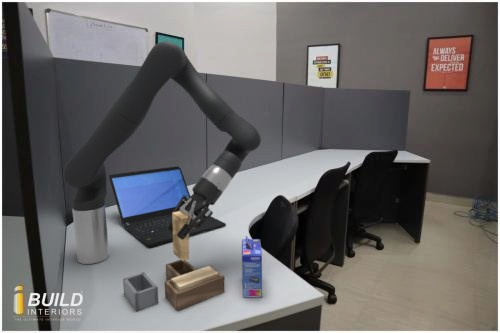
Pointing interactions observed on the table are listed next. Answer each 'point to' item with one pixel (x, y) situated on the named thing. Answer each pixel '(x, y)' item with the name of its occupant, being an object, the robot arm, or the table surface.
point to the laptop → (152, 203)
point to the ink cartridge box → (252, 268)
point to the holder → (142, 297)
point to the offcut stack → (193, 278)
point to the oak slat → (178, 244)
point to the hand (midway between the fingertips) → (174, 233)
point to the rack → (194, 293)
